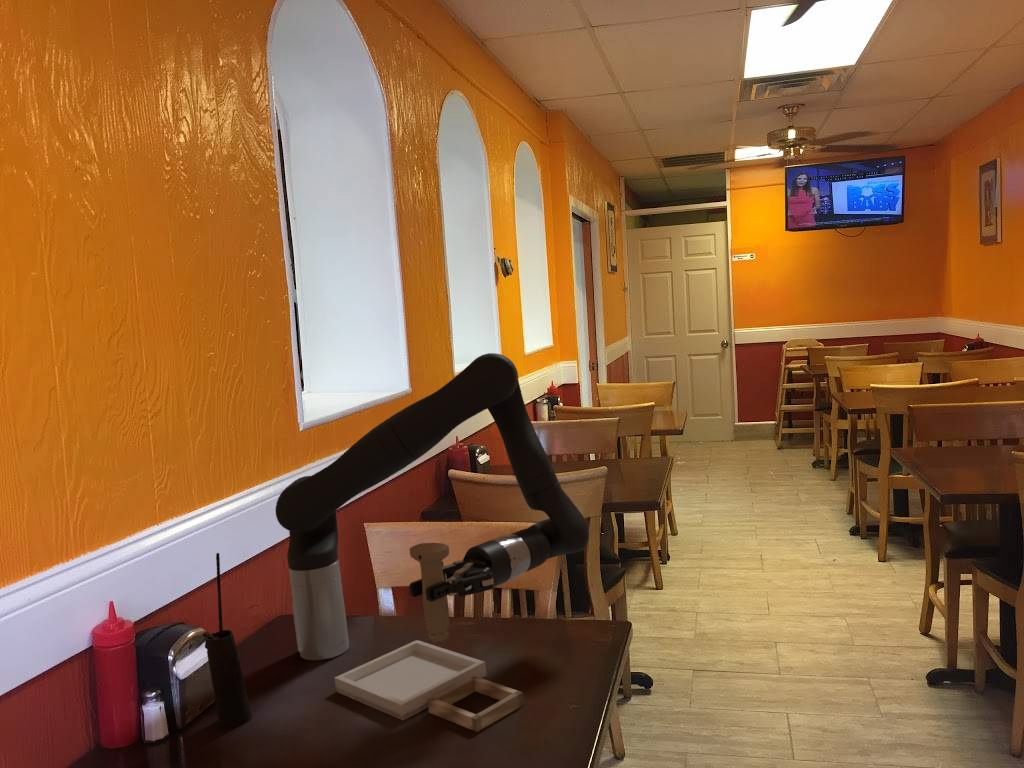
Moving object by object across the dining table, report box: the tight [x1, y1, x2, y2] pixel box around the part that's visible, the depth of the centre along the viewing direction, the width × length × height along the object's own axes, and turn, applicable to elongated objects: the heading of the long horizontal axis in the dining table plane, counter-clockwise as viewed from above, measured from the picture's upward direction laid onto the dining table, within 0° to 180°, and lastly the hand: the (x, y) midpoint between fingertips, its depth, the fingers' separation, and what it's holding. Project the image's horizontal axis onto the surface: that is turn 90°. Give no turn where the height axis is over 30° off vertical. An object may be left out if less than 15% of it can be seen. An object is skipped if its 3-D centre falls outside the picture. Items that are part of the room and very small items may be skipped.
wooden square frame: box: [427, 676, 525, 733], centre depth 134 cm, size 11×10×2 cm
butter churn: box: [202, 552, 253, 729], centre depth 138 cm, size 9×10×28 cm
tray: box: [334, 639, 487, 721], centre depth 146 cm, size 18×18×2 cm
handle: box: [409, 542, 450, 643], centre depth 137 cm, size 5×6×15 cm
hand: (419, 592), depth 135 cm, fingers closed on handle, 3 cm apart
